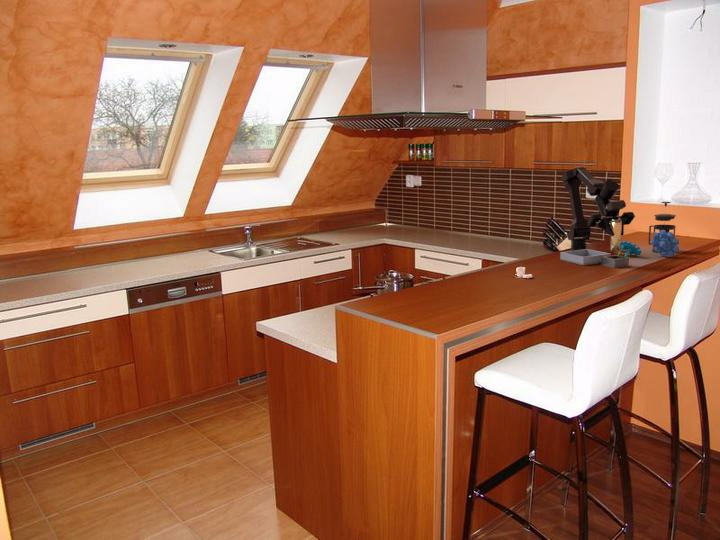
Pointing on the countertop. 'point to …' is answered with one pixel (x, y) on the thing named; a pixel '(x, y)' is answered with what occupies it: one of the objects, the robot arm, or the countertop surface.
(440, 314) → the countertop surface
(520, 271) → the teacup and saucer
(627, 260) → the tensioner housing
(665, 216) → the french press
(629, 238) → the countertop surface
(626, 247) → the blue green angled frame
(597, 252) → the tray
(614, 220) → the capped labeled canister
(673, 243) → the grapes
